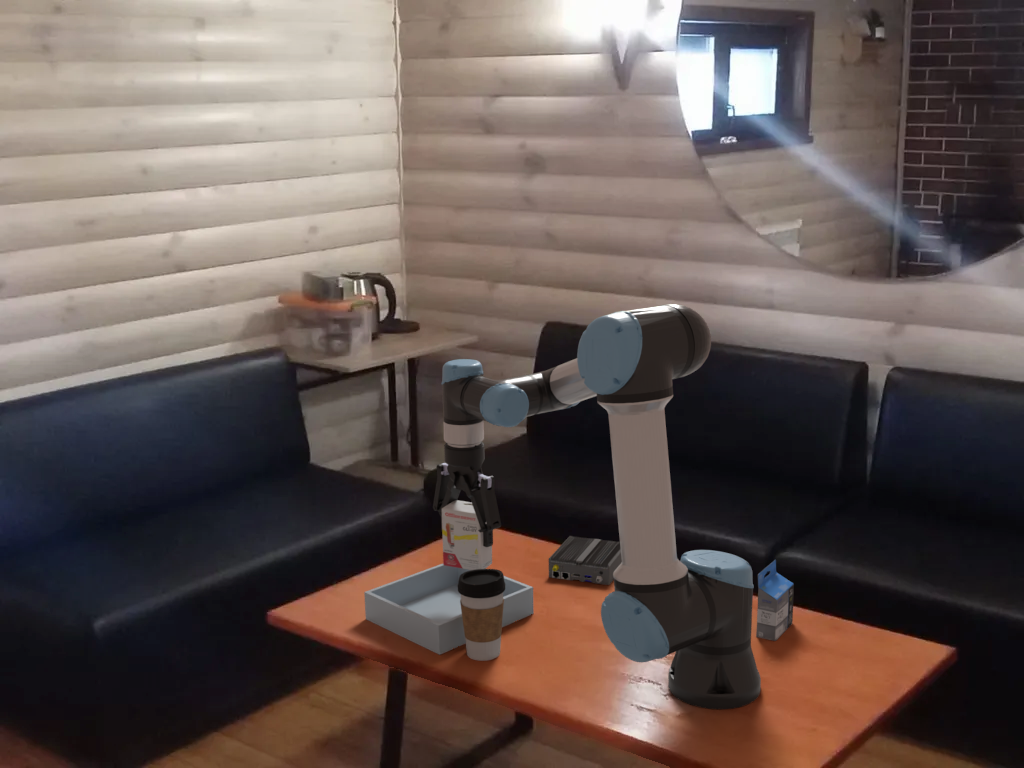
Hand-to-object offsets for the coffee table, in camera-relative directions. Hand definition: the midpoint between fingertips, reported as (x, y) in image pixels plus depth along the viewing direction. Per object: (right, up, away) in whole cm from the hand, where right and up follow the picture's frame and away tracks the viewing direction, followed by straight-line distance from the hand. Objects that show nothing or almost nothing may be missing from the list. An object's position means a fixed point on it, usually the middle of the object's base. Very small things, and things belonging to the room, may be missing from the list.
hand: (467, 554), depth 228 cm
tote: (-3, -12, -1) cm, 12 cm away
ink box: (0, -2, +1) cm, 2 cm away
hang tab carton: (+57, -13, -10) cm, 59 cm away
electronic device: (+25, -7, +20) cm, 32 cm away
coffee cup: (+4, -15, -16) cm, 23 cm away
